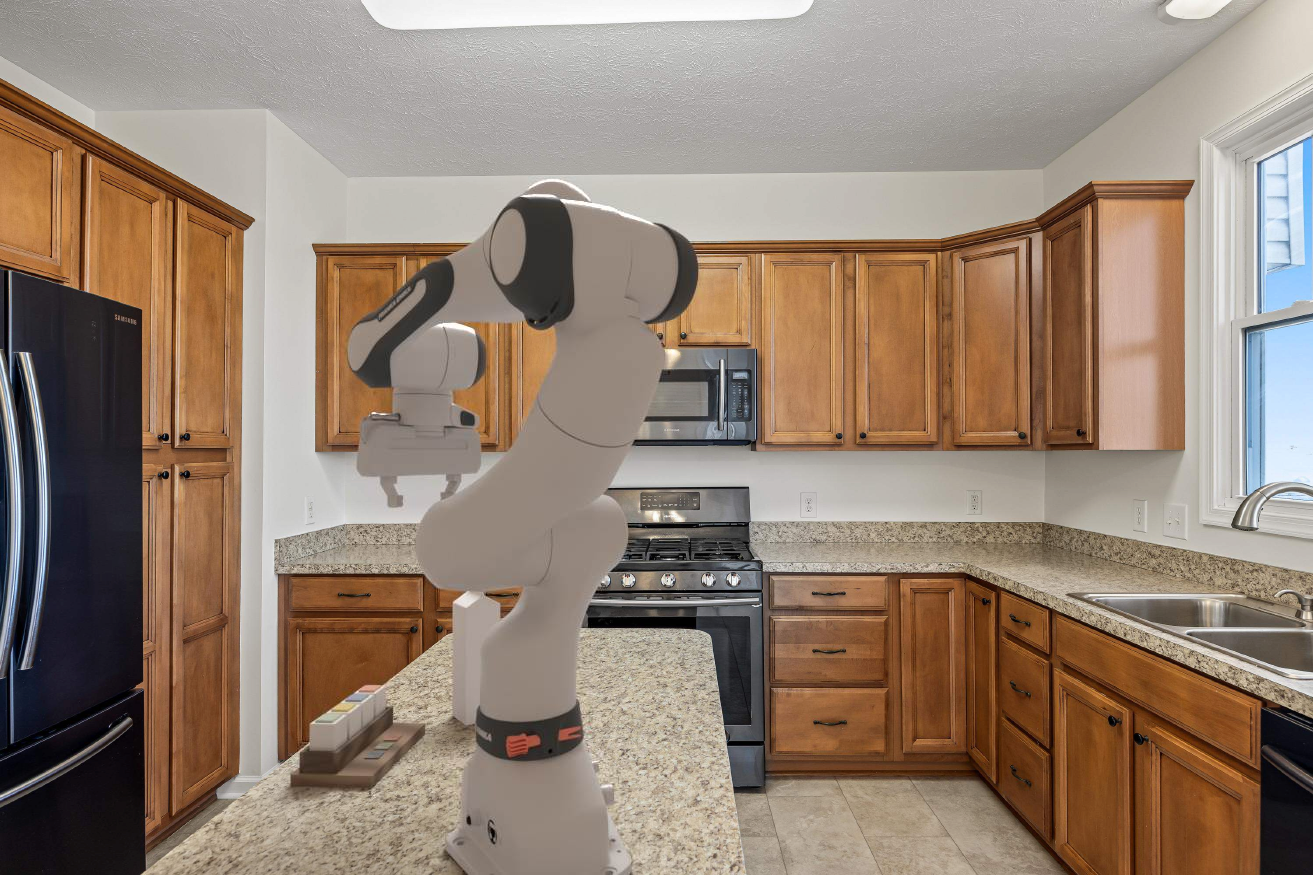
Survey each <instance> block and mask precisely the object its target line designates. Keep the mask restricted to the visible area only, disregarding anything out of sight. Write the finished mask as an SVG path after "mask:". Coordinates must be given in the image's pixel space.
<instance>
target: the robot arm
mask: <svg viewBox="0 0 1313 875" xmlns="http://www.w3.org/2000/svg"><path fill="white" fill-rule="evenodd" d="M698 281H699V260H698V256H697V253H696V250H695V248H694V246H693V244H692V243H691V242H690V240H689V239H688V238H687V237H686V236H684V235H683V234H682V233H680V232H679V231H677V230H675V229H673V228H672V227H670V226H668V225H665V224H663V223H660V222H650V221H648V220H645V219H643V218H640V217H637V216H634V215H631V214H629V213H625V212H622V211H618V210H617V209H615V208H614V207H612V206H606V205H602V204H597V203H593V202H592V200H591V199H590V197H588V195H587V194H586V193H584V192H583V191H582V190H581V189H579V187H576V186H575V185H573V184H571V183H569V182H568V181H567V182H566V181H563V180H560V179H546V180H541V181H538V182H536V183H534V184H533V185H530V187H528V188H527V189H526V190H525V191H523V192H521V194H520V195H518V196H516V197H514V198H512V199H511V200H510V201H509V202H508V203H506V205H505V206H504V208H502V210H500V212H499V214H498V215H497V217H496V218H495V219H494V221H493V222H492V223H491V224H490V226H489V227H488V229H487V230H486V231H485V232H484V233H482V235H480V237H479V238H477V239H476V240H474V241H473V242H471V243H470V244H468V245H466V246H465V247H463V248H462V249H459V250H458V251H455V252H454V253H451V254H449V255H447V256H445V257H442V258H441V257H440V258H439V259H436V260H434V261H432V262H429V263H427V264H426V265H425V266H423V267H422V268H421V269H419V270H418V271H417V272H416V273H415V274H414V275H413V276H412V277H410V278H409V279H408V280H407V282H405V283H404V284H403V285H402V286H401V287H400V288H399V289H398V290H397V291H396V292H395V293H393V294H392V295H391V297H390V298H389V299H388V300H387V301H385V303H383V304H382V305H381V306H380V307H379V308H378V309H376V310H375V311H374V310H373V311H371V312H369V313H368V314H366V315H365V316H363V317H362V318H361V319H359V320H358V321H357V322H356V323H355V325H354V326H353V327H352V329H351V331H350V334H349V337H348V340H347V341H348V342H347V347H346V348H347V349H346V352H347V353H346V356H347V364H348V367H349V369H350V371H351V372H352V373H353V374H354V376H355V377H357V378H358V379H359V380H360V381H361V382H362V383H363V384H364V385H366V386H367V387H368V388H370V389H391V388H393V390H392V413H388V412H387V413H379V412H371V413H369V414H368V415H366V416H364V417H363V418H362V419H361V421H360V423H359V442H358V449H357V457H356V470H357V472H358V474H359V475H360V476H361V477H364V478H365V477H366V478H375V477H377V478H379V481H380V482H379V483H380V486H381V488H382V490H383V491H384V493H385V495H386V497H387V499H386V500H387V504H386V505H387V507H388V508H391V509H393V508H396V509H397V508H403V506H404V502H403V500H404V495H403V494H399V493H398V491H397V489H396V487H395V485H397V484H398V477H407V476H408V477H411V476H437V475H439V476H443V475H445V481H446V482H448V483H447V485H446V488H445V490H444V491H440V493H439V494H440V500H439V501H436V502H435V503H433V504H432V505H431V506H430V507H429V508H428V509H427V511H426V512H425V513H424V515H423V516H422V519H421V520H420V522H419V524H418V528H417V532H416V536H415V543H414V544H415V556H416V559H417V562H418V563H417V564H418V565H419V567H420V570H421V572H422V573H423V575H424V576H425V577H426V579H427V580H428V581H429V582H430V583H431V584H432V585H434V587H435V588H437V589H440V590H449V591H458V592H467V591H471V592H484V593H485V592H490V591H491V592H492V591H500V590H506V589H507V590H509V589H515V588H522V590H521V591H522V592H521V594H520V597H519V599H518V601H517V602H516V604H515V606H514V607H513V608H512V610H510V612H509V613H508V614H507V615H505V616H504V617H503V618H500V621H499V622H497V623H496V624H495V625H494V626H492V627H491V628H490V630H489V631H488V632H487V634H486V636H485V638H484V640H483V642H482V645H481V649H480V705H479V706H478V708H477V711H476V719H475V724H474V730H475V742H476V744H477V745H476V747H475V749H474V751H473V753H472V755H471V756H470V757H469V759H468V760H467V761H466V763H465V765H463V767H462V770H461V771H462V774H461V788H460V789H461V791H460V793H461V794H460V810H459V812H460V813H459V826H458V827H457V828H455V829H454V830H453V831H451V832H450V833H448V834H447V835H446V837H445V843H444V849H445V851H446V852H447V853H448V854H449V856H451V858H452V859H453V860H454V861H455V863H457V864H458V865H459V866H460V868H461V869H462V870H463V871H464V872H465V873H466V875H630V874H631V873H632V872H633V868H632V867H633V866H632V860H631V858H630V855H629V853H628V851H627V849H626V847H625V845H624V843H623V840H622V837H621V836H620V834H619V831H618V830H617V827H616V825H615V822H614V821H613V819H612V816H611V813H610V811H609V809H608V807H610V806H613V805H614V804H615V790H614V787H613V784H612V783H610V782H608V783H602V784H601V783H600V782H599V779H598V775H597V774H598V773H599V770H600V765H599V760H597V759H594V760H592V759H591V756H590V753H589V751H588V747H587V741H586V740H585V739H584V737H585V734H584V727H583V723H584V720H583V714H582V711H581V705H580V701H579V699H578V698H577V678H578V676H577V672H578V670H577V669H578V651H579V642H580V641H579V640H580V634H581V628H582V626H583V621H584V619H585V615H586V612H587V610H588V608H589V606H590V603H591V601H592V599H593V597H594V595H595V593H596V591H597V590H598V588H599V586H600V584H601V583H602V582H603V580H605V578H606V576H608V574H609V573H611V571H612V570H613V569H614V568H616V566H618V565H619V563H620V562H621V561H622V558H623V557H624V555H625V552H626V551H627V546H628V540H629V527H628V521H627V518H626V515H625V513H624V511H623V509H622V507H621V505H620V504H619V503H618V502H617V500H616V499H614V498H613V497H612V496H610V495H608V494H607V495H606V494H604V493H605V492H606V491H607V490H608V489H609V487H611V485H612V482H613V481H614V479H615V477H616V475H617V473H618V472H619V469H620V467H621V466H622V464H623V462H624V460H625V458H626V457H627V455H628V453H629V450H630V449H631V447H632V445H633V443H634V441H635V440H636V437H637V436H638V434H639V432H640V431H641V427H642V426H643V425H644V424H643V423H644V422H645V419H646V417H647V415H648V412H649V410H650V409H651V408H650V407H651V404H652V403H653V400H654V398H655V393H656V392H657V388H658V385H659V382H660V378H661V375H662V372H663V367H664V362H665V360H664V359H665V355H664V349H663V348H664V347H663V345H662V342H661V340H660V338H659V336H658V334H657V333H655V331H654V330H653V329H652V327H650V326H649V325H657V324H663V323H667V322H669V321H672V320H673V321H674V320H675V319H677V318H679V317H680V316H681V315H683V313H684V312H685V311H686V310H688V309H687V308H688V307H689V306H690V304H691V303H692V300H693V298H694V296H695V293H696V290H697V285H698V283H699V282H698ZM521 322H526V324H527V326H529V328H532V329H533V330H536V331H546V330H549V329H550V328H552V327H553V328H554V333H555V339H556V342H555V351H554V354H553V358H552V360H551V363H550V366H549V368H548V370H547V371H546V374H545V375H544V378H543V380H542V382H541V385H540V387H539V389H538V391H537V393H536V396H535V399H534V401H533V403H532V405H531V407H530V409H529V412H528V414H527V416H526V419H525V420H524V423H523V424H522V426H521V429H520V431H519V433H518V435H517V437H516V438H515V441H514V442H513V443H512V445H511V446H510V448H509V449H508V450H507V452H505V454H504V455H503V456H502V457H501V458H500V459H499V460H498V461H497V462H496V463H495V464H494V465H493V466H492V467H491V468H490V469H489V470H487V471H486V472H485V473H484V474H482V476H480V477H479V478H478V479H476V480H475V481H474V482H473V483H471V484H469V485H467V487H465V488H464V489H461V490H459V491H458V492H457V490H458V488H459V487H460V484H461V483H462V475H469V474H471V475H474V474H477V473H478V472H479V470H480V469H481V467H482V443H481V436H480V433H479V432H478V430H477V429H476V428H478V427H479V426H480V421H481V420H480V416H479V415H478V414H477V413H475V412H473V411H470V410H469V409H466V408H464V407H462V406H460V405H458V404H456V403H454V394H453V391H462V390H466V389H471V388H472V387H474V386H475V385H476V384H477V383H478V382H480V380H481V379H482V378H483V377H484V375H485V373H486V368H487V346H486V344H485V342H484V339H483V338H482V337H481V336H480V334H479V333H478V332H477V330H475V329H474V328H473V327H469V326H466V325H463V324H461V323H490V324H491V323H492V324H516V323H521Z"/></svg>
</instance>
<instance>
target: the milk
mask: <svg viewBox="0 0 1313 875" xmlns="http://www.w3.org/2000/svg"><path fill="white" fill-rule="evenodd" d="M500 620H501V603H500V602H498V601H496V600H494V599H492V598H490V597H488V596H486V595H485V592H471V591H465V592H464V593H462V595H461V596H459V597H457V598H456V599H454V600H453V601H452V669H451V670H452V674H451V675H452V681H451V682H452V690H451V691H452V696H451V697H452V699H451V701H452V703H451V704H452V706H451V708H452V710H451V711H452V712H451V715H452V716H453V717H454V718H455V719H456V720H458V721H459V722H460V723H462V724H463V725H464V726H466V727H467V726H472V725H475V719H476V711H477V708H478V706H479V705H480V649H481V645H482V642H483V640H484V638H485V636H486V634H487V632H488V631H489V630H490V628H491V627H492V626H494V625H495V624H496V623H497V622H499V621H500Z"/></svg>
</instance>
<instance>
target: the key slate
mask: <svg viewBox="0 0 1313 875" xmlns="http://www.w3.org/2000/svg"><path fill="white" fill-rule="evenodd" d="M340 703H348V704H359V705H361V730H362V729H363V728H364V727H366V726H367V725H368V724H369V723H371V722H372V721H373V720H374V695H369V694H354V693H353V694H350V695H349V696H348V697H346V698H345V699H343V700H342V701H341V702H340Z"/></svg>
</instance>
